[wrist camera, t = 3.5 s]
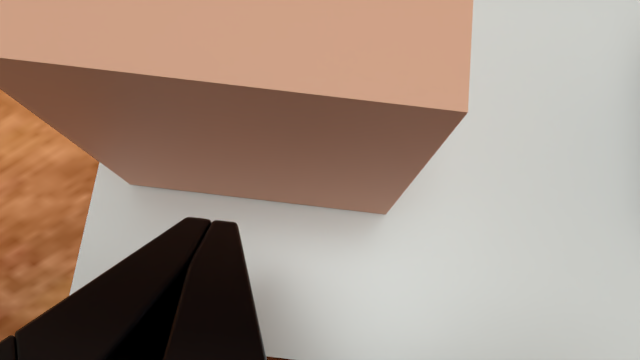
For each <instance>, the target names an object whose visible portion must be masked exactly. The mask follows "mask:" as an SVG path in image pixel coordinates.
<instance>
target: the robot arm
mask: <svg viewBox="0 0 640 360" xmlns="http://www.w3.org/2000/svg"><path fill="white" fill-rule="evenodd" d="M0 360H267V358H266V353H265V349H264V344H263V339H262V335H261V330H260V325H259V321H258V316H257V311H256V307H255V302H254V298H253V293H252V288H251V284H250V279H249V274H248V270H247V265H246V260H245V256H244V251H243V247H242V242H241V237H240V233H239V228H238V225H237V223H235V222H230V221H221V220H214V221H213V222H211V220H209V219H204V218H196V217H186V218H184V219H183V220H181V221H180V222H178V223H177V224H175V225H174V226H172V227H171V228H169V229H168V230H166V231H165V232H163V233H162V234H160V235H159V236H157V237H156V238H154V239H153V240H152V241H150V242H149V243H147V244H146V245H144V246H143V247H141V248H140V249H138V250H137V251H135V252H134V253H132V254H131V255H129V256H128V257H126V258H125V259H123V260H122V261H120V262H119V263H117V264H116V265H114V266H113V267H111V268H110V269H108V270H107V271H105V272H104V273H102V274H101V275H99V276H98V277H97V278H95V279H94V280H92V281H91V282H89V283H88V284H86V285H85V286H83V287H82V288H80V289H79V290H77V291H76V292H74V293H73V294H71V295H70V296H68V297H67V298H65V299H64V300H62V301H61V302H59V303H58V304H56V305H55V306H53V307H52V308H50V309H49V310H47V311H46V312H44V313H43V314H41V315H40V316H39V317H37V318H36V319H34V320H33V321H31V322H30V323H28V324H27V325H25V326H24V327H22V328H21V329H19V330H18V331H16V333H15V337H14V336H13V335H10V336H8V337H7V338H5V339H4V340H2V341H1V342H0Z"/></svg>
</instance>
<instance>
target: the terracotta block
mask: <svg viewBox="0 0 640 360" xmlns="http://www.w3.org/2000/svg"><path fill="white" fill-rule="evenodd" d="M472 17H473V0H0V89H1V90H2V91H4V92H5V93H6V94H8V95H9V96H11V97H12V98H13V99H15V100H16V101H17V102H19V103H20V104H21V105H23V106H24V107H25V108H27V109H28V110H30V111H31V112H32V113H34V114H35V115H36V116H38V117H39V118H40V119H42V120H43V121H45V122H46V123H47V124H49V125H50V126H51V127H53V128H54V129H55V130H57V131H58V132H59V133H61V134H62V135H64V136H65V137H66V138H68V139H69V140H70V141H72V142H73V143H74V144H76V145H77V146H79V147H80V148H81V149H83V150H84V151H85V152H87V153H88V154H89V155H91V156H92V157H93V158H95V159H96V160H98V161H99V162H100V163H102V164H103V165H104V166H106V167H107V168H108V169H110V170H111V171H113V172H114V173H115V174H117V175H118V176H119V177H121V178H122V179H123V180H125V181H126V182H127V183H129V184H130V185H139V186H147V187H156V188H164V189H173V190H181V191H190V192H198V193H207V194H215V195H224V196H232V197H241V198H249V199H258V200H266V201H275V202H283V203H292V204H301V205H309V206H318V207H326V208H335V209H343V210H352V211H360V212H369V213H377V214H387V212H388V211H389V210H390V209H391V207H392V206H393V205H394V204H395V202H396V201H397V200H398V199H399V197H400V196H401V195H402V194H403V192H404V191H405V190H406V189H407V188H408V186H409V185H410V184H411V183H412V181H413V180H414V179H415V178H416V176H417V175H418V174H419V173H420V171H421V170H422V169H423V168H424V166H425V165H426V164H427V163H428V161H429V160H430V159H431V158H432V156H433V155H434V154H435V153H436V151H437V150H438V149H439V148H440V147H441V145H442V144H443V143H444V142H445V140H446V139H447V138H448V137H449V135H450V134H451V133H452V132H453V130H454V129H455V128H456V127H457V125H458V124H459V123H460V122H461V120H462V119H463V118H464V117H465V115H466V114H467V113H468V101H469V80H470V59H471V38H472Z"/></svg>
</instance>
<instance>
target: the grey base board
mask: <svg viewBox="0 0 640 360" xmlns="http://www.w3.org/2000/svg"><path fill="white" fill-rule="evenodd" d="M186 217H196V218H204V219H209V220H211V222H213V221H214V220H221V221H230V222H235V223H237V225H238V228H239V233H240V237H241V242H242V247H243V251H244V256H245V260H246V265H247V270H248V274H249V279H250V284H251V288H252V293H253V298H254V302H255V307H256V311H257V316H258V321H259V325H260V330H261V335H262V339H263V344H264V349H265V353H266V356H268V357H276V358H284V359H293V360H640V0H473V17H472V38H471V59H470V80H469V101H468V113H467V114H466V115H465V117H464V118H463V119H462V120H461V122H460V123H459V124H458V125H457V127H456V128H455V129H454V130H453V132H452V133H451V134H450V135H449V137H448V138H447V139H446V140H445V142H444V143H443V144H442V145H441V147H440V148H439V149H438V150H437V151H436V153H435V154H434V155H433V156H432V158H431V159H430V160H429V161H428V163H427V164H426V165H425V166H424V168H423V169H422V170H421V171H420V173H419V174H418V175H417V176H416V178H415V179H414V180H413V181H412V183H411V184H410V185H409V186H408V188H407V189H406V190H405V191H404V192H403V194H402V195H401V196H400V197H399V199H398V200H397V201H396V202H395V204H394V205H393V206H392V207H391V209H390V210H389V211H388V212H387V214H377V213H369V212H360V211H352V210H343V209H335V208H326V207H318V206H309V205H301V204H292V203H283V202H275V201H266V200H258V199H249V198H241V197H232V196H224V195H215V194H207V193H198V192H190V191H181V190H173V189H164V188H156V187H147V186H139V185H130V184H129V183H127V182H126V181H125V180H123V179H122V178H121V177H119V176H118V175H117V174H115V173H114V172H113V171H111V170H110V169H108V168H107V167H106V166H104V165H103V164H102V163H99V167H98V172H97V176H96V180H95V185H94V189H93V193H92V198H91V202H90V207H89V211H88V215H87V220H86V224H85V229H84V233H83V237H82V242H81V246H80V251H79V255H78V259H77V264H76V268H75V273H74V277H73V281H72V286H71V290H70V295H71V294H73V293H74V292H76V291H77V290H79V289H80V288H82V287H83V286H85V285H86V284H88V283H89V282H91V281H92V280H94V279H95V278H97V277H98V276H99V275H101V274H102V273H104V272H105V271H107V270H108V269H110V268H111V267H113V266H114V265H116V264H117V263H119V262H120V261H122V260H123V259H125V258H126V257H128V256H129V255H131V254H132V253H134V252H135V251H137V250H138V249H140V248H141V247H143V246H144V245H146V244H147V243H149V242H150V241H152V240H153V239H154V238H156V237H157V236H159V235H160V234H162V233H163V232H165V231H166V230H168V229H169V228H171V227H172V226H174V225H175V224H177V223H178V222H180V221H181V220H183V219H184V218H186ZM70 295H69V296H70Z"/></svg>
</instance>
